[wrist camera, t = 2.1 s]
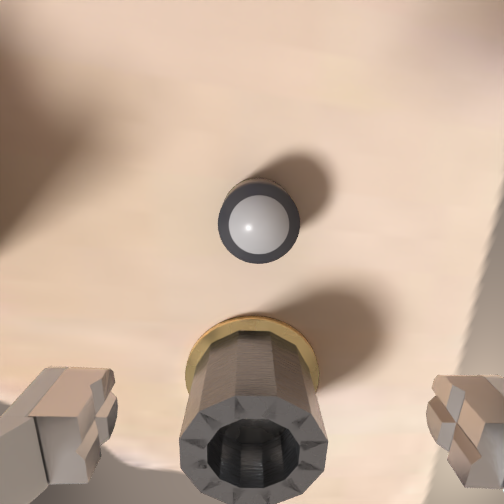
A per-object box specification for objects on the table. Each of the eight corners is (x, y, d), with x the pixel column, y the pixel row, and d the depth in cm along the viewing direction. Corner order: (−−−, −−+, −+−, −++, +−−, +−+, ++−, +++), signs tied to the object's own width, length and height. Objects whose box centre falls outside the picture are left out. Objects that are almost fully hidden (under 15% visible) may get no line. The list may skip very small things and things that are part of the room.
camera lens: (273, 164, 27) (277, 168, 23) (304, 228, 28) (313, 241, 25) (208, 199, 28) (202, 208, 24) (243, 259, 29) (242, 277, 25)
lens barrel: (281, 293, 30) (294, 353, 22) (338, 394, 34) (368, 480, 25) (161, 351, 32) (129, 427, 24) (227, 441, 36) (220, 535, 27)
